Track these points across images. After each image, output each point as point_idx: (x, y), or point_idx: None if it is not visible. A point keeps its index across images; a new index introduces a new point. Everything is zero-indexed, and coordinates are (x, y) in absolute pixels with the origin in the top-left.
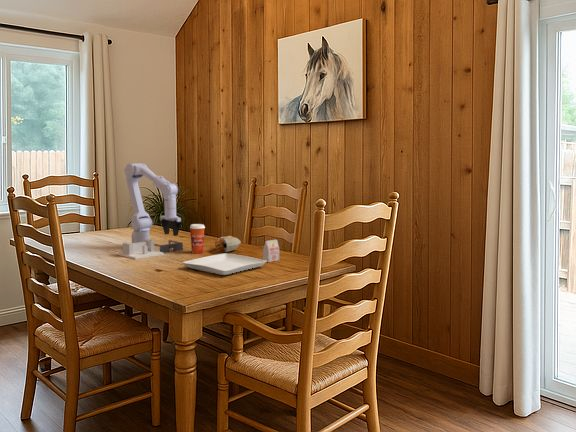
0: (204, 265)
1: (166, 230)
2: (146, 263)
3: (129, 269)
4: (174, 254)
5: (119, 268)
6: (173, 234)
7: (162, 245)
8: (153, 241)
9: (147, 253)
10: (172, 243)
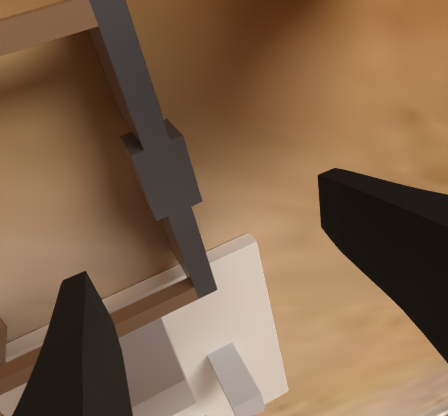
0: None
1: (111, 360)
2: (394, 327)
3: (430, 373)
4: (282, 150)
5: (394, 404)
6: (338, 241)
7: (213, 277)
8: (185, 381)
9: (234, 345)
10: (149, 162)
